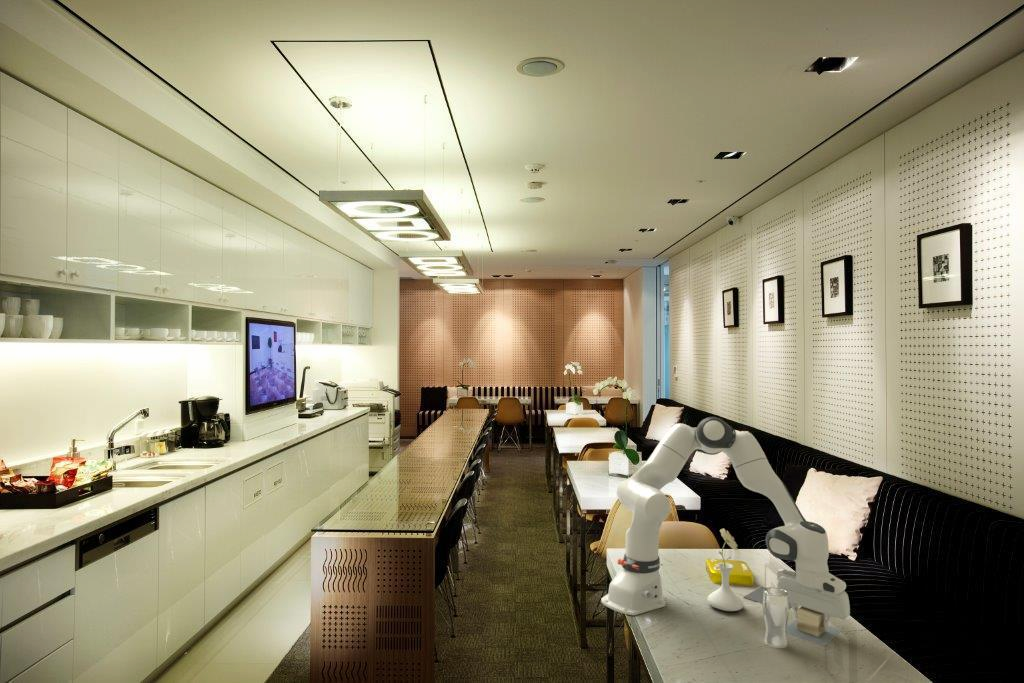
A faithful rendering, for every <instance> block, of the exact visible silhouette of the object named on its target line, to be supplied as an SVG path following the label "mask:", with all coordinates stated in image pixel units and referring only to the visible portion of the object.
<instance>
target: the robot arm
mask: <svg viewBox="0 0 1024 683" xmlns="http://www.w3.org/2000/svg"><path fill="white" fill-rule="evenodd" d="M652 451H653V452H652V453H651V454H650V455H649V457H648V458H647V460H646V462H645V463H644V464H643V465H642V466H641V467H640V468H639V469H637V471H636V472H635V473H633V474H632V475H631V476H630V477H628V478H626V479H624V480H622V481H621V482H620V483H619V485H618V486H617V489H616V496H617V499H618V500H619V502H620V503H621V505H622V506H623V507H624V509H626V510H629V511H630V512H632V519H631V523H630V526H629V527H628V528H627V529H626V532H625V553H624V555H623V559H622V558H619V557H618V559H617V565H619V566H621V568H620V569H619V571H618V572H617V574H616V575H615V576H614V578H613V579H612V580H611V582H610V583H609V584H608V586H609V587H608V593H607V594H605V595H604V596H603V597H601V598H600V599H601V600H600V603H601V604H602V605H603V606H605V607H607V608H609V609H610V610H613V611H615V612H618V613H621V614H624V615H629V616H637V615H640V614H644V613H647V612H651V611H654V610H657V609H660V608H663V607H666V606H667V603H666V601H665V600H664V592H663V591H664V590H663V581H662V579H663V578H662V576H661V575H660V574H661V573H660V568H661V567H660V566H661V559H660V556H659V545H660V544H659V543H660V542H659V540H660V538H659V537H660V533H661V532H660V531H661V528H662V524H663V522H664V521H665V520H666V519H667V518H668V517H669V515H670V514H671V501H670V500H669V497H667V495H665V493H664V492H662V491H661V489H662V488H665V486H666V485H669V484H670V483H673V482H674V481H675V480H676V479H677V477H678V476H679V474H680V472H681V471H682V469H683V468H684V466H685V464H686V463H687V462H688V460H689V458H690V456H691V455H692V454H693V453H694V451H695V452H698V453H703V454H704V455H705V454H706V455H710V456H711V455H713V456H714V455H718V454H720V453H724V454H725V455H726V456H727V457H728V458H729V460H730V462H731V465H732V467H733V469H734V471H735V474H736V477H737V479H738V480H739V482H740V483H741V485H742V486H743V487H744V488H746V489H748V490H749V491H752V492H755V493H759V494H761V495H763V496H765V497H767V499H769V500H770V501H771V502H772V503H773V505H774V506H775V508H776V510H777V512H778V514H779V516H780V518H781V519H782V521H783V524H784V525H783V526H782V525H781V526H778V527H775V528H773V529H770V530H768V531H767V534H765V535H766V536H765V545H766V547H767V550H768V552H769V553H770V554H771V555H772V556H773V557H774V558H776V559H779V560H785V561H793V562H795V572H794V571H791V570H787V569H785V568H783V569H779V570H778V571H777V573H776V574H777V575H776V576H777V577H776V579H777V581H778V582H777V585H776V588H780V589H783V590H785V591H786V592H788V598H789V602H790V603H792V607H791V608H792V610H793V612H794V613H795V616H794V618H795V619H796V620H797V610H798V609H799V606H800V607H805V608H808V609H811V610H814V611H817V612H820V613H823V614H825V618H826V620H822V621H821V627H822V628H825V629H827V628H828V626H829V622H831V619H832V618H836V619H839V620H843V621H844V620H846V619H847V618H848V617H850V615H851V606H850V600H849V595H848V593H847V592H846V591H845V590H846V588H847V584H846V582H845V581H844V580H842V579H841V578H838V577H837V576H835V575H833V574H832V573H831V572H829V566H828V559H829V557H830V555H829V554H830V553H829V536H828V534H827V531H826V529H825V528H824V527H823V526H821V524H818V523H815V522H812V521H808V520H806V519H805V517H804V516H803V514H802V513H801V511H800V509H799V507H798V505H797V504H796V501H795V500H794V498H793V496H792V495H791V494H790V492H789V490H788V488H787V486H786V485H785V483H784V482H783V481H782V480H781V479H780V477H779V476H778V475H777V474H776V473H775V471H774V470H773V468H772V466H771V464H770V463H769V460H768V458H767V456H766V454H765V451H763V449H762V447H761V445H760V443H759V442H758V440H757V438H755V436H754V435H753V434H752V433H751V432H749V431H744V430H742V431H738V432H736V429H734V428H733V427H732V426H730V425H729V424H728V423H727V422H726V421H724V420H723V419H721V418H719V417H716V416H709V417H706V418H703V419H702V420H701V421H700V422H699V424H697V427H692V426H690V425H687V424H685V423H681V422H679V423H678V422H677V423H675V424H673V425H672V426H671V427H670V428H669V429H668V431H666V433H665V434H664V435H663V437H662V438H661V440H660V441H659V442H658V444H657V445H656V446H655V448H654V450H652Z"/></svg>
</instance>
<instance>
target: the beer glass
mask: <svg viewBox="0 0 1024 683" xmlns="http://www.w3.org/2000/svg"><path fill="white" fill-rule="evenodd" d="M762 611H763V612H762V613H763V619H764V623H765V634H764V638H763V641H764V643H765V644H766V645H767V646H770V647H771V648H776V649H785V648H788V641H787V636H786V634H787V632H786V627H787V626H788V621H789V615H790V608H789V598H788V592H786V591H785V590H783V589H780V588H777V587H775V586H774V587H773V586H772V587H771V586H770V587H769V586H768V587H766V588H765V589H764V594H763V604H762Z"/></svg>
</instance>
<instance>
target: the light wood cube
mask: <svg viewBox="0 0 1024 683" xmlns="http://www.w3.org/2000/svg"><path fill="white" fill-rule="evenodd" d="M826 619H827V618H825V614H823V613H820V612H817V611H814V610H811V609H808V608H805V607H802V606H800V607H798V610H797V619H796V620H797V630H800V631H803V632H806V633H808V634H811V635H814V636H817V637H819V636H820V635H821V634H822V633H824V632H825V631H826V629H825V628H822V627H821V621H822V620H826Z"/></svg>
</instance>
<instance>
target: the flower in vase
mask: <svg viewBox="0 0 1024 683" xmlns="http://www.w3.org/2000/svg"><path fill="white" fill-rule="evenodd" d="M719 532H720V535H721V537H722V538H723V540H724V543H723V546H722V548H721V550H720V549H719V550H718V554H720V556H721V557H722V558H721V559H722V560H723V562H724V561H725V560H731V556H730V557H728V558H725V557H724V555H723V554H724V553H723V552H724V549H725V545H726V544H727V545H728V546H729V547H730V548H731V549H733V550H734V551H737V550H738V544H737V542H736V541H735V538H734V536H732V535H731V534H730V532H729V531H728V530H726V529H725V528H721V529H720V530H719ZM718 566H719V568H720V570H721V574H722V584H720V585H721V586H720V587H719V588H717V589H716V590H714V591H713V592H711V593H710V594H709V595H708V596H707V598H706V599H707V602H708V604H709V605H710V606H711V607H713V608H715V609H717V610H721V611H724V612H737V611H740V610H742V609H743V608H744V606H745V604H744V601H743V599H742V598H741V597H740V596H738V595H737V594H736V593H735V592H734V590H732V589H731V587H730V584H729V576H730V572H731V570H732V568H733V567H734V566H733V565H731V564H729V563H725V562H724V563H718Z"/></svg>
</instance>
